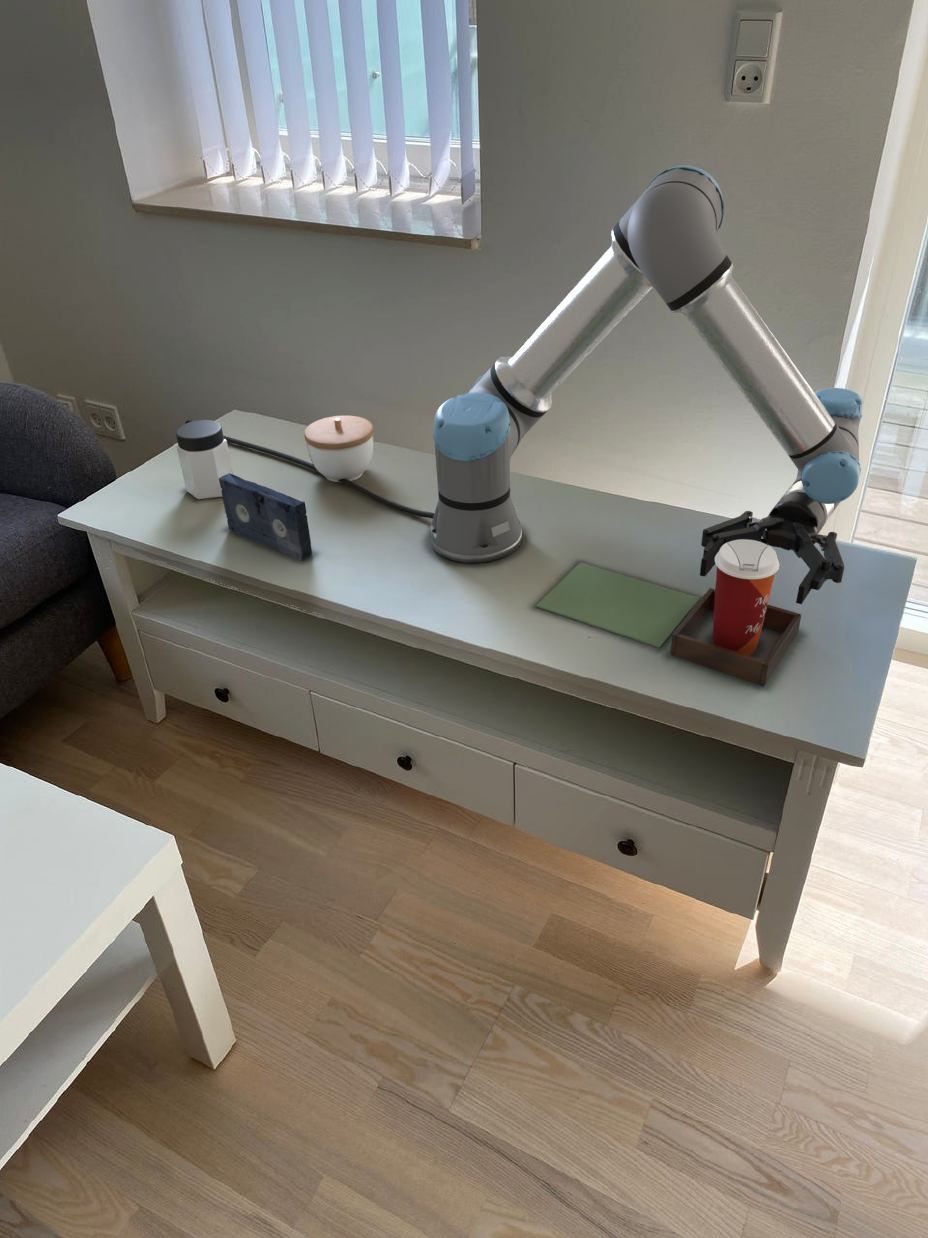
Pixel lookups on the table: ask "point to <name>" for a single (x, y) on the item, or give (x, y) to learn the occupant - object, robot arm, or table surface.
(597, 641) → the table surface
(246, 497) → the vhs cassette tape
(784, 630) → the crate
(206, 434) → the jar
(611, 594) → the mat
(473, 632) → the table surface
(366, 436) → the lidded bowl
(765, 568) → the coffee cup
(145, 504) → the table surface
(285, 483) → the table surface
